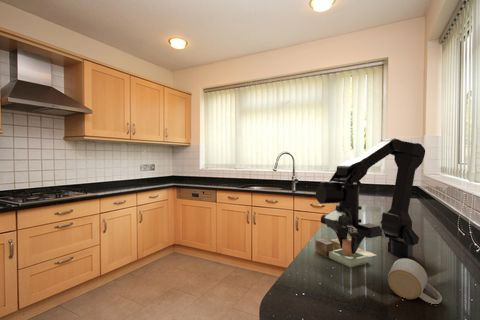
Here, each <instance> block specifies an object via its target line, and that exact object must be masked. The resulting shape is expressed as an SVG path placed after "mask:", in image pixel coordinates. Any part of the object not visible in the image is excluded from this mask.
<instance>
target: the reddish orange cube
mask: <svg viewBox="0 0 480 320" xmlns="http://www.w3.org/2000/svg"><path fill="white" fill-rule="evenodd" d="M342 254H343V255H344V256H348V257H353V256H354V254H352V250H351V238H347V239H342Z"/></svg>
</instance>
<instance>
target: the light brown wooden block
mask: <svg viewBox="0 0 480 320" xmlns="http://www.w3.org/2000/svg"><path fill="white" fill-rule="evenodd" d="M329 240H330V241H329V242H332V243H333V250H338V249H341V246H340V243H339V240H338V238H332V239H329Z"/></svg>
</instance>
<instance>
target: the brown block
mask: <svg viewBox="0 0 480 320" xmlns="http://www.w3.org/2000/svg"><path fill="white" fill-rule="evenodd" d="M315 251H316V252H315ZM329 251H333V243H332V242H330V241H328V240H326V239H324V238H319V239H318V238H317V239H315V250H314V252H315V253H317V254H320V255H322V256H324V257H326V258H328V257H327V256H329Z"/></svg>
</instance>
